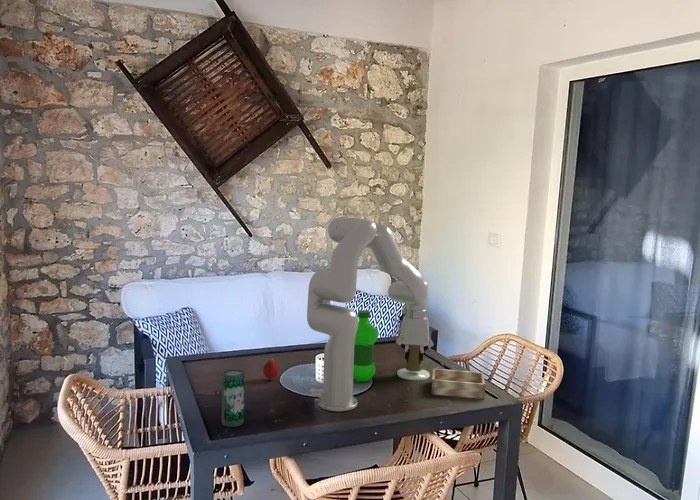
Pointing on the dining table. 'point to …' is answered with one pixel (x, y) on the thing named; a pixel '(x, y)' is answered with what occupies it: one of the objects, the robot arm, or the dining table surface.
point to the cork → (413, 359)
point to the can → (233, 397)
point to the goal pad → (413, 374)
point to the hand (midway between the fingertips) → (413, 361)
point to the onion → (271, 369)
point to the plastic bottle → (364, 348)
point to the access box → (458, 383)
